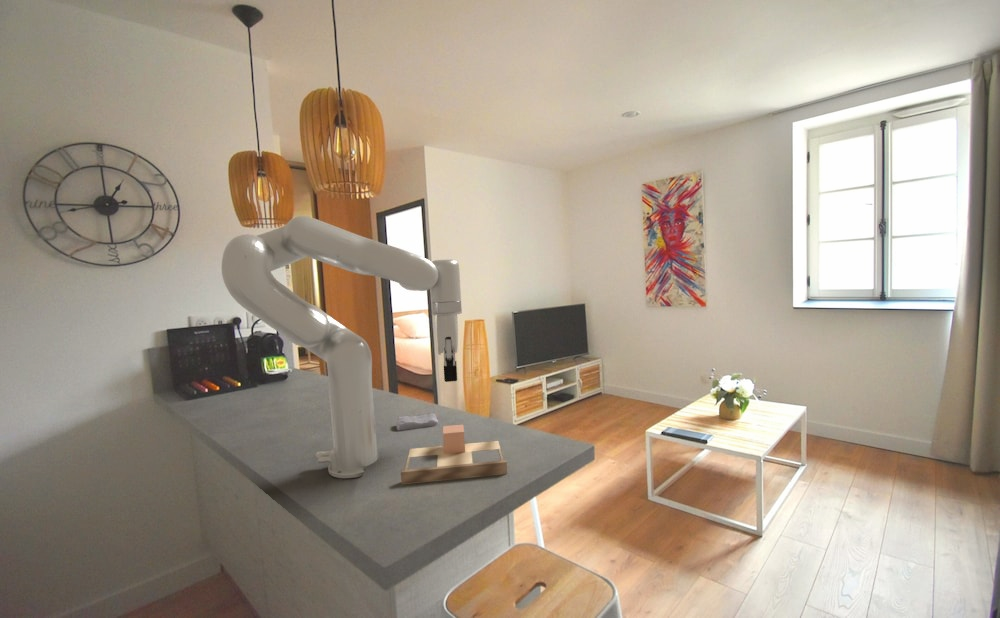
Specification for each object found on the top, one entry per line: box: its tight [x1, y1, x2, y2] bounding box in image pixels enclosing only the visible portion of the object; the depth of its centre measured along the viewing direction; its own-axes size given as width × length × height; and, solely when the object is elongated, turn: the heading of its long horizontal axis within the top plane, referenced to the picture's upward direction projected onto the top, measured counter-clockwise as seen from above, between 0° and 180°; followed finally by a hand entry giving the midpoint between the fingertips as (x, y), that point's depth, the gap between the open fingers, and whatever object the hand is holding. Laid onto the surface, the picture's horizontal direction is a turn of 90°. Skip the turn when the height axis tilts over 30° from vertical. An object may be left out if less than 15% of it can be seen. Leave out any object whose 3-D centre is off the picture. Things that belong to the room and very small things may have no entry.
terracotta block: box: [442, 424, 466, 454], centre depth 105 cm, size 5×5×5 cm
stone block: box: [396, 412, 440, 432], centre depth 126 cm, size 12×5×10 cm
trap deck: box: [400, 440, 508, 485], centre depth 99 cm, size 22×18×4 cm
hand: (450, 377), depth 112 cm, fingers open, 4 cm apart
